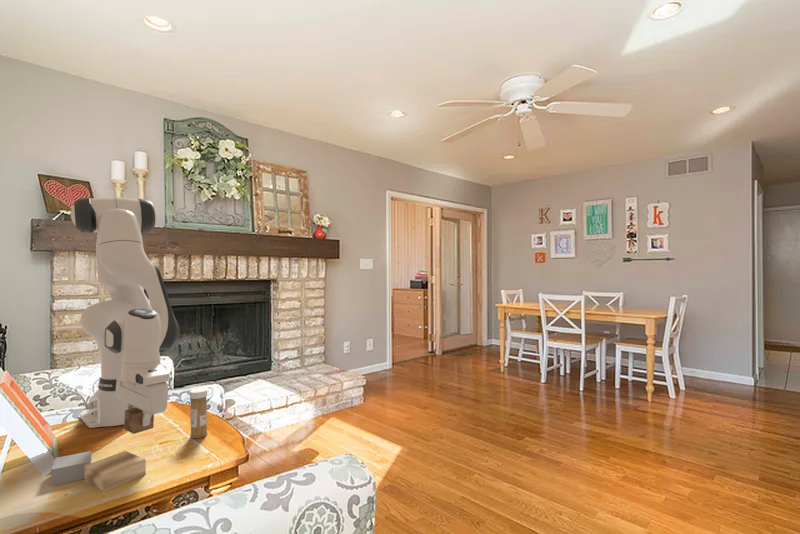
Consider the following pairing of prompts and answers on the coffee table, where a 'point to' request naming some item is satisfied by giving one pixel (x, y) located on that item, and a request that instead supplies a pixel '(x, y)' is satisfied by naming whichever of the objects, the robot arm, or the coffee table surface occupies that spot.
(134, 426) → the walnut cube
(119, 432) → the coffee table surface
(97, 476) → the oak block
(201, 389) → the sprinkles bottle
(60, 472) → the grey block
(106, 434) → the coffee table surface
